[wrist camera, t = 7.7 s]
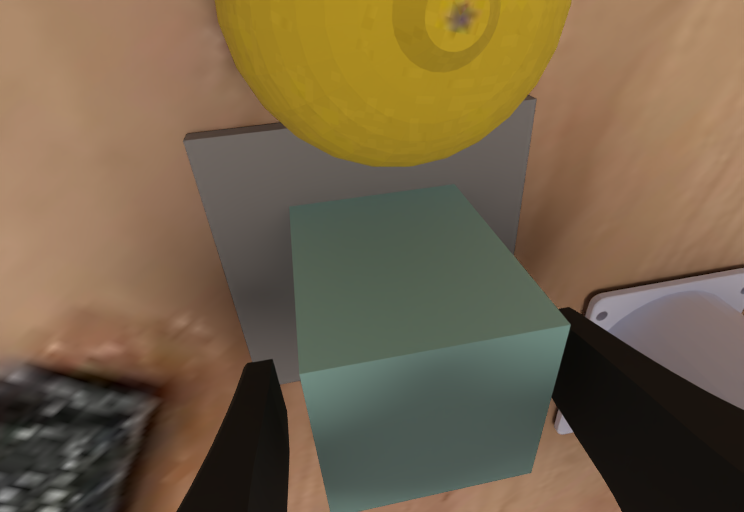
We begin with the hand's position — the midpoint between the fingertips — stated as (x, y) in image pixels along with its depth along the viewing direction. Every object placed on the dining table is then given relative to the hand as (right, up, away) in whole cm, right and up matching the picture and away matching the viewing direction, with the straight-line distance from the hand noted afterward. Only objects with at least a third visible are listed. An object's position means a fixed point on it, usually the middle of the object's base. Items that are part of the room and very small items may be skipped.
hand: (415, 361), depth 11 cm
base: (-1, +3, +4) cm, 5 cm away
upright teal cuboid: (-1, +2, +4) cm, 4 cm away
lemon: (-2, +10, 0) cm, 10 cm away
